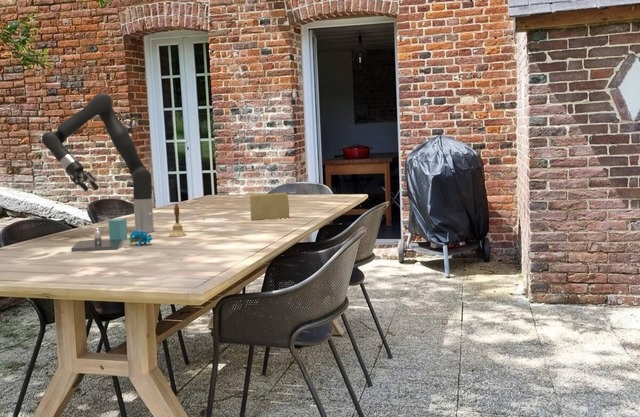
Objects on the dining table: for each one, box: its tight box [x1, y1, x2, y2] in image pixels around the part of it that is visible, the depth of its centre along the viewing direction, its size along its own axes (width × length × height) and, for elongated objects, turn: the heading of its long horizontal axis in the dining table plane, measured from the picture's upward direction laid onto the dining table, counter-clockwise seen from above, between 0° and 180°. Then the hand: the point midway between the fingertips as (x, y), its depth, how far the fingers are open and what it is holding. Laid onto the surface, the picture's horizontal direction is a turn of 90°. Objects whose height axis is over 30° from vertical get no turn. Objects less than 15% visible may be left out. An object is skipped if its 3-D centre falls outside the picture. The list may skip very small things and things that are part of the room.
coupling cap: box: [108, 218, 128, 241], centre depth 341 cm, size 6×6×10 cm
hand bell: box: [169, 203, 187, 238], centre depth 351 cm, size 8×8×16 cm
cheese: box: [249, 192, 290, 221], centre depth 405 cm, size 22×10×15 cm, turn 94°
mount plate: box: [70, 227, 124, 252], centre depth 323 cm, size 20×20×9 cm
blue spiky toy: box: [127, 230, 153, 247], centre depth 325 cm, size 11×6×10 cm
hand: (92, 189), depth 343 cm, fingers open, 8 cm apart
